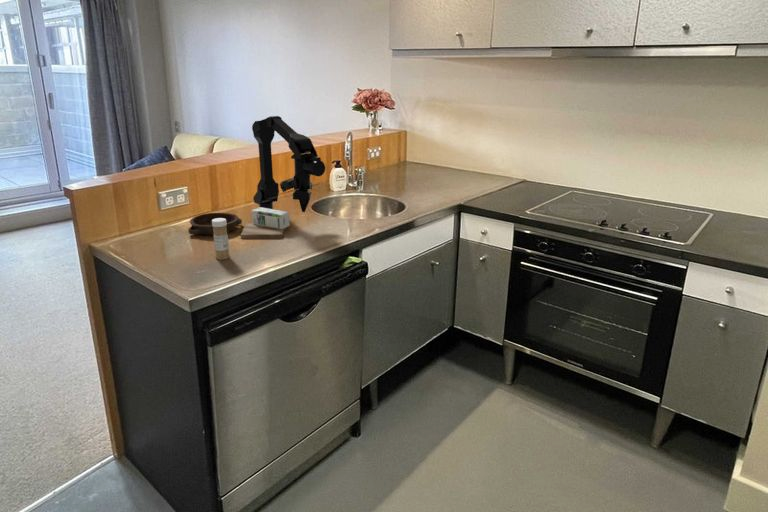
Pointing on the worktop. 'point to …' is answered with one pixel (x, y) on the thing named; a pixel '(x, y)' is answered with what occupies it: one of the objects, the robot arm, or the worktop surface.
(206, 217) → the dish
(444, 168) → the worktop surface
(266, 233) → the cutting board
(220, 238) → the sprinkles bottle
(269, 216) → the syrup box
